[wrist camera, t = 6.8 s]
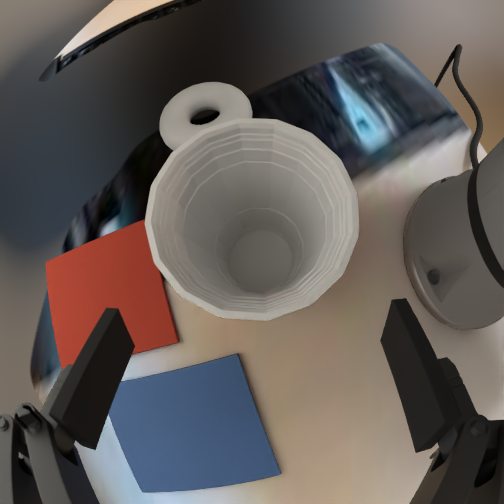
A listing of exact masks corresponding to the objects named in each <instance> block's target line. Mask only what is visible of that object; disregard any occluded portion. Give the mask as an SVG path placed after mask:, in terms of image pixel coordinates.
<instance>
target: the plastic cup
mask: <svg viewBox="0 0 504 504" xmlns="http://www.w3.org/2000/svg"><path fill="white" fill-rule="evenodd" d="M145 228H146V232H147V236H148V241H149V245H150V249H151V253H152V257H153V261H154V263H155V265H156V266H157V267H158V269H159V270H160V271H161V273H162V274H163V275H164V277H165V278H166V279H167V280H168V282H169V283H170V284H171V286H172V287H173V288H174V289H175V291H176V292H177V293H178V294H179V296H180V297H182V298H184V299H186V300H187V301H189V302H191V303H193V304H195V305H197V306H199V307H201V308H202V309H204V310H206V311H208V312H210V313H212V314H214V315H216V316H218V317H220V318H231V319H244V320H260V321H268V320H271V319H274V318H277V317H280V316H282V315H285V314H288V313H291V312H294V311H296V310H299V309H302V308H304V307H307V306H310V305H312V304H313V303H314V302H315V301H316V300H317V299H318V298H319V297H320V296H321V295H322V294H323V293H324V292H325V291H326V290H328V289H329V288H330V287H331V286H332V285H333V284H334V283H335V282H336V281H337V280H338V279H339V278H340V277H341V276H342V275H343V274H344V272H345V269H346V267H347V264H348V262H349V259H350V257H351V254H352V252H353V249H354V247H355V244H356V242H357V239H358V236H359V212H358V194H357V192H356V190H355V188H354V186H353V183H352V181H351V179H350V177H349V175H348V173H347V171H346V169H345V167H344V165H343V163H342V161H341V159H340V158H339V157H338V156H337V155H336V154H334V153H333V152H332V151H331V150H330V149H329V148H328V147H327V146H326V145H325V144H323V143H322V142H321V141H320V140H319V139H318V138H317V137H315V136H314V135H313V134H312V133H310V132H307V131H305V130H302V129H300V128H297V127H295V126H292V125H290V124H287V123H284V122H282V121H279V120H276V119H251V118H238V119H234V120H231V121H228V122H224V123H221V124H218V125H215V126H212V127H209V128H206V129H203V130H201V131H200V132H198V133H197V134H196V135H194V136H193V137H192V138H190V139H189V140H188V141H186V142H185V143H184V144H182V145H181V146H180V147H178V148H177V149H176V150H175V151H173V152H172V153H171V155H170V156H169V158H168V159H167V161H166V162H165V164H164V165H163V167H162V169H161V170H160V172H159V173H158V175H157V177H156V178H155V180H154V182H153V183H152V185H151V189H150V195H149V200H148V206H147V212H146V218H145Z"/></svg>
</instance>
